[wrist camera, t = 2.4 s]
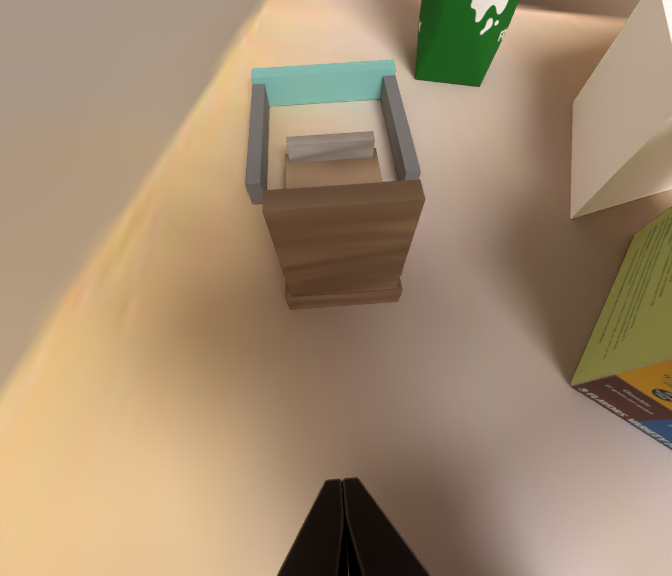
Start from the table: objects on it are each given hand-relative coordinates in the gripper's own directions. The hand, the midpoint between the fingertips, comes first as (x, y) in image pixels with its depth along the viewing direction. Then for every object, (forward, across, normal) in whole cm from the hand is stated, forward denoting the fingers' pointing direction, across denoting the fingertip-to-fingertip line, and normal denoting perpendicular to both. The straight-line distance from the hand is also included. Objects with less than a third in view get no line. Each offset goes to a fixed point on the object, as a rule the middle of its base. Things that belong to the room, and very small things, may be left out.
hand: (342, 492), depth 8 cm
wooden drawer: (+21, +1, +4) cm, 22 cm away
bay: (+28, +1, +12) cm, 31 cm away
